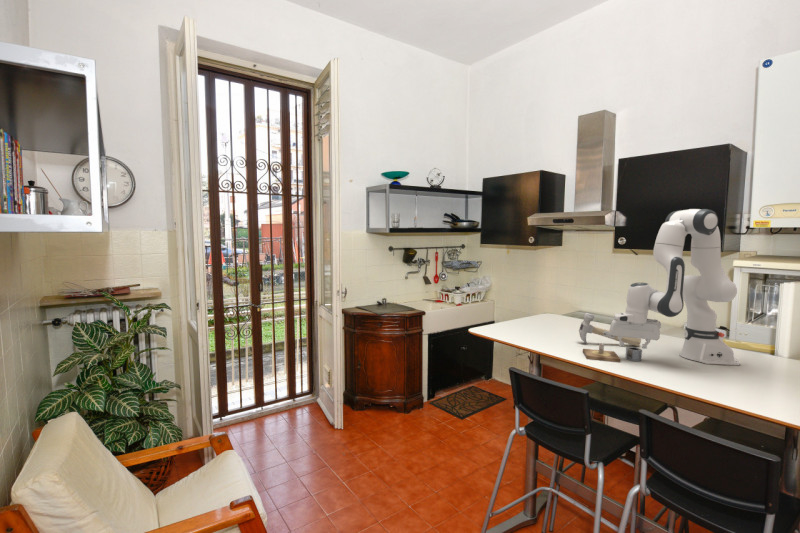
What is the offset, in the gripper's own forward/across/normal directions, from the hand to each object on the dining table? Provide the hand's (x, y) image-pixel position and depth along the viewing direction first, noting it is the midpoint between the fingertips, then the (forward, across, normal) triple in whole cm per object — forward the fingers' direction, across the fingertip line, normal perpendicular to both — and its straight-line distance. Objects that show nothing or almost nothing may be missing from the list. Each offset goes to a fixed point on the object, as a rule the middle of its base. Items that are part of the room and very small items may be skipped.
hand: (632, 347), depth 188 cm
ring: (+6, -1, -1) cm, 6 cm away
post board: (+6, +13, 0) cm, 15 cm away
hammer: (+6, +4, -24) cm, 25 cm away
